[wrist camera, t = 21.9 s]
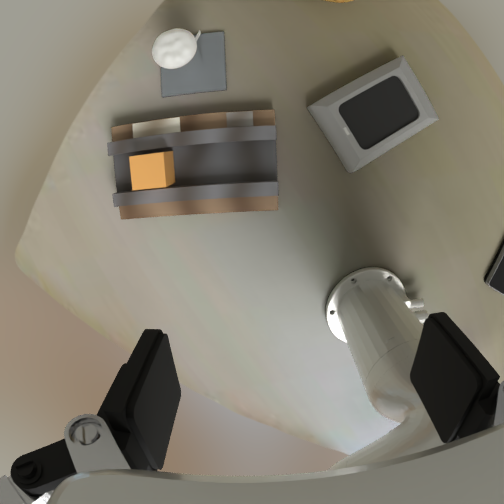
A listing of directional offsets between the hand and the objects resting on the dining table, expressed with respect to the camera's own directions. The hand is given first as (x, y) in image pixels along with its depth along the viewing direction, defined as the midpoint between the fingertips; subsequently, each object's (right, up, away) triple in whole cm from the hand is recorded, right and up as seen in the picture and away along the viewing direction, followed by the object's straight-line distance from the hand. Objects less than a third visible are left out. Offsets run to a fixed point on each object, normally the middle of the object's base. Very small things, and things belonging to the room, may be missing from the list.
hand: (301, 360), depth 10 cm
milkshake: (-9, +27, +22) cm, 36 cm away
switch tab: (-13, +14, +25) cm, 32 cm away
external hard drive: (+43, +2, +31) cm, 53 cm away
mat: (-9, +27, +23) cm, 36 cm away
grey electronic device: (+14, +22, +25) cm, 36 cm away
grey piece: (-9, +15, +27) cm, 32 cm away
